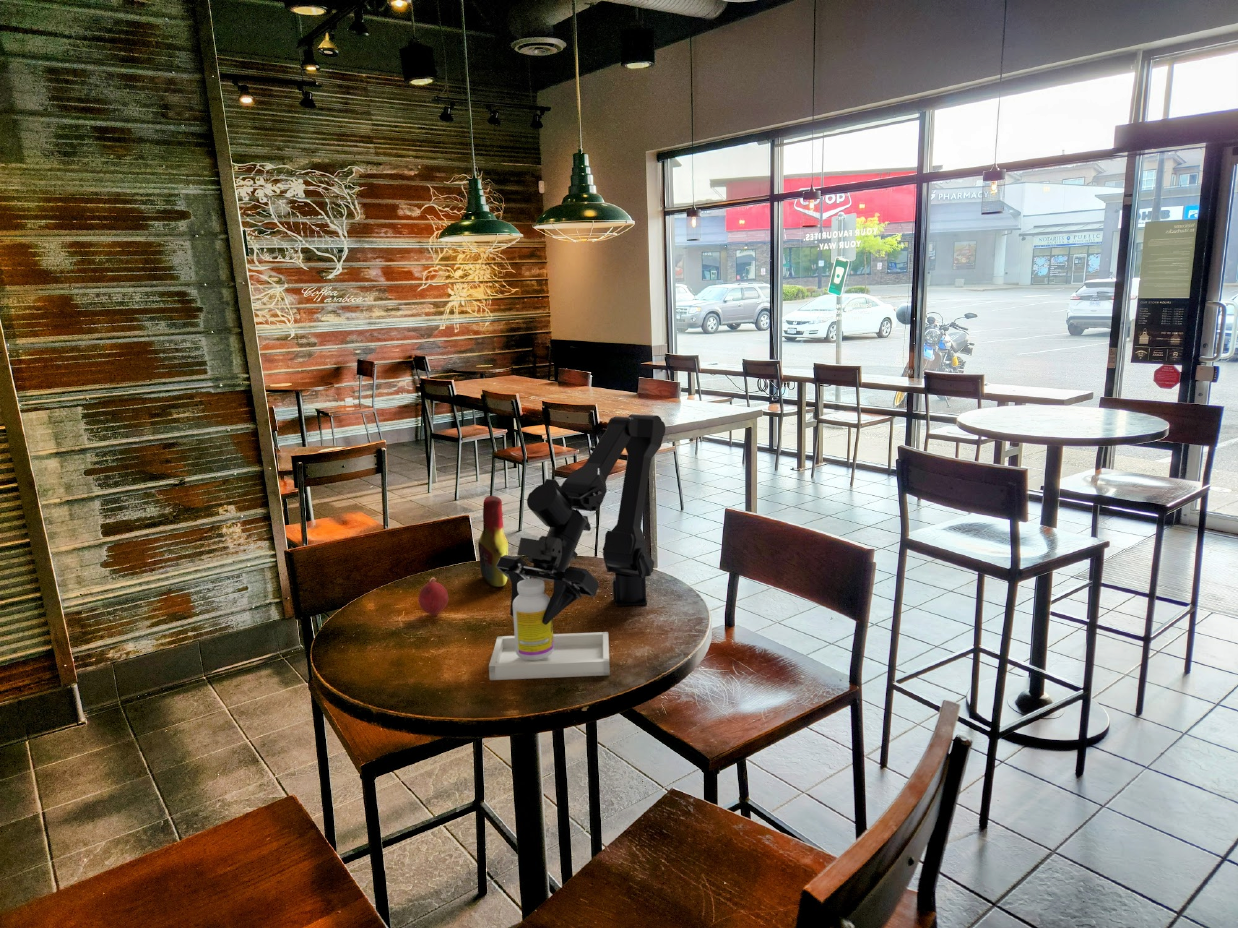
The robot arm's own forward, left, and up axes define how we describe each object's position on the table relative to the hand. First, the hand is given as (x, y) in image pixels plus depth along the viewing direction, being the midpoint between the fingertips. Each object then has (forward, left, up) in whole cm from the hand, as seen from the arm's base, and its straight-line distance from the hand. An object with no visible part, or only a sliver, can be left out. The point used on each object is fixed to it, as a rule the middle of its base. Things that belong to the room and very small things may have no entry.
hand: (527, 619), depth 134 cm
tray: (-4, -1, -8) cm, 9 cm away
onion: (+21, -24, -9) cm, 34 cm away
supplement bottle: (-1, -1, -7) cm, 7 cm away
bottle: (+11, -43, -9) cm, 46 cm away
